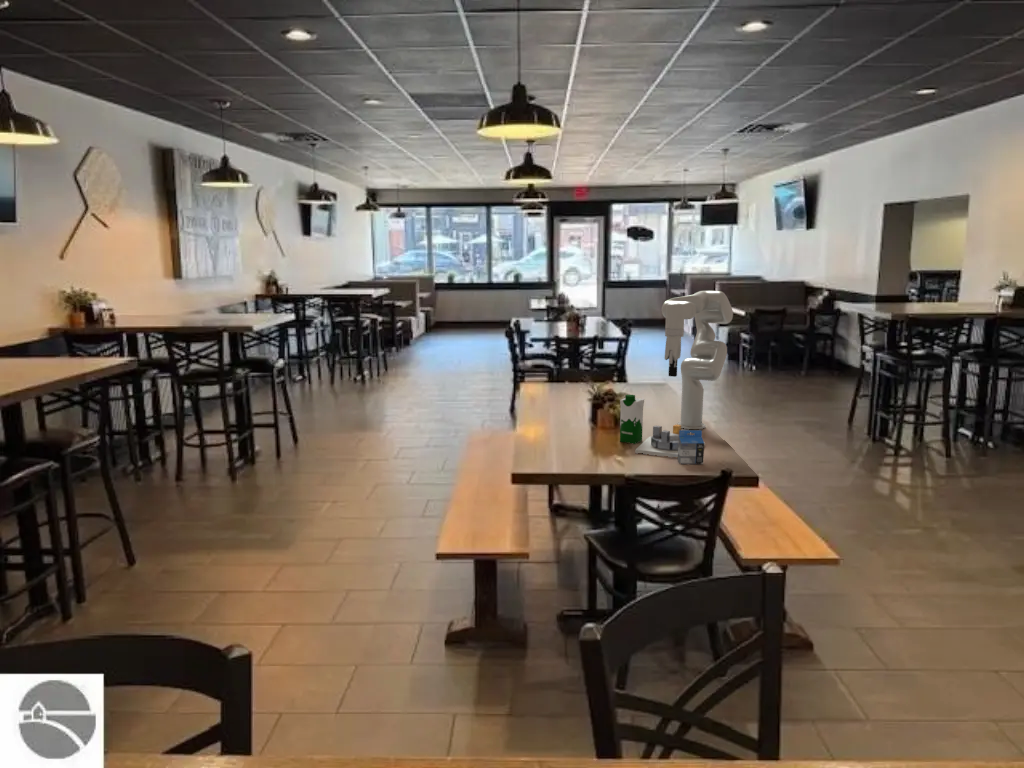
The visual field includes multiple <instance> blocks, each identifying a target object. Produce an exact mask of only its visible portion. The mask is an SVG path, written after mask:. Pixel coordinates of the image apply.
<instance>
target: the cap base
mask: <svg viewBox="0 0 1024 768" xmlns="http://www.w3.org/2000/svg"><path fill="white" fill-rule="evenodd" d="M652 436H653V435H652ZM652 436H651V435H649V436H648V437H647V438H646V439H645V440H644V441H643V442H642V443H640V445H638V447H637V448H635V451H634V452H635V454H638V453H643V454H642V455H647V454H649V455H648V456H655V455H657V456H658V457H664V456H668V457H667V458H672V457H678V450H673V451H672V450H664V449H658V448H655V447H654V446H652V445H651V437H652ZM670 441H679V435H678V434H675V433H673V432H670ZM705 445H706V442H705V441H704V447H705Z"/></svg>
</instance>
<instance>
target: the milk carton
mask: <svg viewBox="0 0 1024 768" xmlns="http://www.w3.org/2000/svg"><path fill="white" fill-rule="evenodd" d="M619 404H620V421H619V422H620V424H619V442H620V443H625V442H626V444H632V443H633V445H636V444H638V443H641V442H642V441H643V429H644V428H643V427H644V425H643V424H644V422H643V421H644V405H645V398H639V397H638V398H637V397H636V394H626V395H625V397H624V398H622V399H620V400H619Z"/></svg>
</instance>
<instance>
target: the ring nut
mask: <svg viewBox="0 0 1024 768" xmlns="http://www.w3.org/2000/svg"><path fill="white" fill-rule="evenodd" d="M672 426H673V427H672V433H675V434H678V435H679V430H686V429H683V428H681V425H677V424H673V425H672ZM670 433H671V430H666V429H665V430H663V426H661V425H654V426H652V437H651V445H652V446H654V447H655V448H658V449H664V450H672V451H673V450H678V445H679V441H670ZM687 435H691V432H690V433H687Z"/></svg>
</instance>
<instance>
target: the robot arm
mask: <svg viewBox="0 0 1024 768" xmlns="http://www.w3.org/2000/svg"><path fill="white" fill-rule="evenodd" d="M733 312H734V311H733V307H732V305H731V303H730V301H729V299H728V297H727V295H726V294H725V292H723V291H721V290H699V291H697V292H694V294H690V295H684V296H678V297H672V298H670V299H669V298H668V299H666V300H665V301H664V302H663V304H662V305H661V315H662V316H663V317H664V318H665V327H664V328H665V331H664V332H665V333H664V336H665V337H666V340H665V347H664V348H665V349H664V360H665V361H667V360H668V377H676V378H677V376H678V360H679V359H680V358H681V355H682V353H681V352H682V337H684V335H685V334H684V333H685V332H684V331H685V320H691V319H693V318H694V320H695V327H696V334H695V337H694V339H693V342H692V345H691V348H690V356H691V357H687V358H684V359H683V360H682V361H681V363H680V374H681V405H680V421H679V422H677V423H676V425H681V429H683V428H684V429H685V430H689V429H699V430H704V429H706V424H705V423H704V422H703V415H704V414H703V413H704V412H703V411H704V410H703V409H704V387H703V384H702V383H701V381H708V382H709V381H710V382H714V381H717V380H718V379H719V378H720V375H721V373H722V370H723V367H724V366H725V363H726V362H725V361H726V359H727V354H728V347H727V345H726V343H725V342H724V341H721V340H715V339H716V332H715V331H714V329H713V328H712V326H711V325H710V324H721V325H727V324H730V323H731V322H732V320H733V317H734V313H733ZM703 428H704V429H703Z"/></svg>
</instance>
